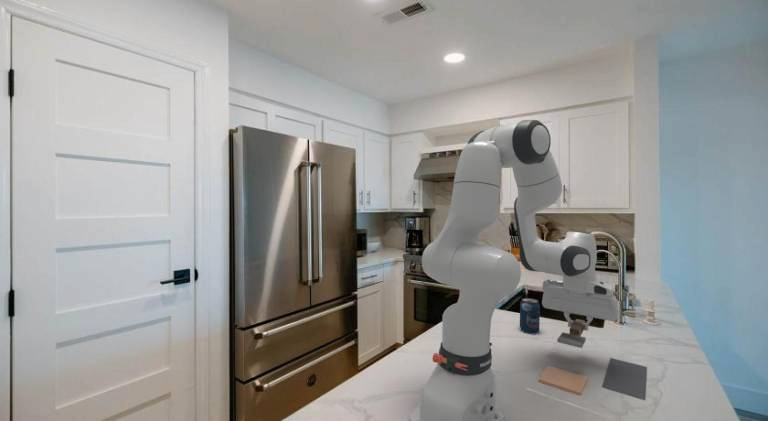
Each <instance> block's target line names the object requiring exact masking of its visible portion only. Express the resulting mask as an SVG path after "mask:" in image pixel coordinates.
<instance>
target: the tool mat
mask: <svg viewBox="0 0 768 421" xmlns="http://www.w3.org/2000/svg"><path fill="white" fill-rule="evenodd" d="M647 374H648V366H645V365H640V364H636V363H632V362H628V361H625V360H622V359H621V360H620V359H616V358H613V357H610V358H609V362H608V366H607V368H606V372H605V374H604V378H603V381H602V385H601V388H602V389H606V390H609V391H612V392H616V393H620V394H623V395H626V396H629V397H632V398H636V399H638V400H642V401H646V397H647V396H646V394H647V379H648V378H647V376H648V375H647Z"/></svg>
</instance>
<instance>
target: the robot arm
mask: <svg viewBox="0 0 768 421" xmlns="http://www.w3.org/2000/svg"><path fill="white" fill-rule="evenodd" d="M551 139H552V138H551V134H550V131H549V129H548V128H547V126H546V125H545V124H543V122H541V121H540V120H538V119H525V120H520V121H517V122H512V123H507V124H500V125H497V126H494V127H490V128H489V129H486V130H481V131H479V132H477V133H475V134H474V135H473V136H472V137H470V138H469V140H468V142H467V143H466V145H465V146H464V147H463V148H462V150H461V153H460V155H459V159H458V161H457V165H456V168H455V169H456V170H455V173H454V179H453V187H452V193H451V199H450V207H449V212H448V214H447V218H446V220H445V223H444V226H443V227H442V229H441V230H440V233H439V234H438V235H437V237H436V238H435V239H434V241H432V242H431V243H428V245H427V246H426V247H425V248H424V250H423V252H422V255H421V266H422V271H423V272H424V274H426V276H428V277H429V278H431V279H432V280H435V281H436V282H438V283H440V284H443V285H447V286H450V287H454V288H458V289H459V296H458V299H457V302H456V303H453V304H451V305H449V306H448V307H447V308H446V309H445V310H444V312H443V313H442V319H441V320H442V326H441V327H442V330H441V332H442V333H441V339H442V340H441V343H440V346H439V349H438V352H437V353H436V352H435V353H433V354H432V362H433V363H434V364H435V363H436V366H435V368H434V369H433V371H432V372H431V375H430V376H429V379H428V381H427V382H426V385H425V387H424V389H423V390H422V392H421V399H420V401H419V402H418V404H417V405H416V407H415V408H414V410H413V411H412V412H411V414H410V415H409V421H505V415H504V413H503V412H502V411H501V410H500V409H499V396H498V395H499V394H498V381H497V378H496V377H495V375H494V373H493V372H492V368H491V367H492V360H493V355H492V349H491V347H490V343H491V341H490V340H491V327H492V326H491V325H492V318H493V315H494V312H495V310H496V307H497V305H498V304H499V303H500V302H501V301H502V300H503V299H505V298H506V297H508V296H509V295H511V294H512V293H513V292H514V291H515V290H516V289H517V287H518V286H519V283H520V282H521V281H520V280H521V277H522V272H521V271H522V270H521V266H520V262H521V264H522V267H524V269H525V270H527V271H530V272H537V273H545V274H551V275H555V276H556V275H557V276H562V280H553V279H550V278H548V279H547V280H544V281H543V282H542V291H543V294H542V300H541V304H542V307H543V308H545V309H550V310H554V311H558V312H563V316H564V317H565V320H566V321H567V327H568V328H570V327H571V326H572V325H573V323H574V322H575V320H572V319H571V317H570V315H571V314H574V315H579V316H585V317H586V320H587V321H585V323H583V324H582V330H584V331H587V332H588V331H589V325H590V324H591V322H592V321H593V319H594V318H595V319H600V320H605V321H610V322H616V321H617V320H619V318H620V317H619V314H620V313H619V305H618V304H619V303H618V299H617V297H616V295H615V294H614V292H615V288H614V286H613V285H612V284H610V283H607V282H605V281H603V280H599V279H597V272H596V265H597V259H598V257H597V255H598V254H597V253H598V252H597V251H598V250H597V242H596V238H595V237H596V236H595V235H593V234H592V233H590V232H586V231H580V230H579V231H578V230H569V231H567V232H566V233H565V237H564V239H562V240H561V241H559V242H554V241H545V240H543V239H541V238H540V237H539V235H538V230H537V224H536V213H538V212H541V211H543V210H545V209H548V208H549V207H551V206H552V205H554V204H555V203H556V202H557V201H558V200H559V198H560V197H561V195H562V192H563V184H562V178H561V176H560V173H559V169H558V166H557V164H556V160H555V159H554V157H553V153H552V152H551V150H550V148H551V144H552V142H551ZM509 168H511V169H512V173H513V177H514V180H515V183H516V187H517V196H516V198H515V200H514V202H513V210H514V211H513V212H514V218H515V219H514V220H515V225H516V231H517V232H516V233H517V238H518V244H519V247H518V248H519V249H518V250H519V252H518V253H519V259H520V262H519V261H518V259H517V257H516V256H515V254H513V253H512V252H509V251H507V250H505V249H501V248H499V247H496V246H492V245H485V244H479V243H478V244H476V243H477V239H478V237H479V236H480V234H481V233H482V232H483V231H485V229H488V228H489V227H491V226H493V224H495V222H496V220H497V219H498V210H499V205H500V204H499V202H500V195H501V186H502V169H509Z"/></svg>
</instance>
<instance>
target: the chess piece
mask: <svg viewBox="0 0 768 421" xmlns="http://www.w3.org/2000/svg"><path fill="white" fill-rule="evenodd" d="M644 310H645V311H647V315H646V316H645V317H646V319H643V320H642V322H643V323H644V324H645V325H649V324H651V325H650V326H660V323H659V322H658V321H656V320H657V318H656V317H655V313H657V312H658V311H657V310H655V300H654V299H653V298H649V301H648V308H645V309H644Z"/></svg>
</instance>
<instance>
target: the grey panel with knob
mask: <svg viewBox="0 0 768 421" xmlns="http://www.w3.org/2000/svg"><path fill="white" fill-rule="evenodd" d="M583 323H586V320H584V319H578V318H576V319H575V320H574V323H573V325H572V326H571V327H569V333H567V332H564V331H563V332H561V334H560V335H559V337H557V340H556V341H557V343H560V344H563V345H568V346H572V347H576V348H579V349H580V348H581V349H582V348H583V346H584V344H585V343H586V340H587V337H585V336H582V334H583V333H584V331H585V330H582V324H583Z"/></svg>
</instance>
